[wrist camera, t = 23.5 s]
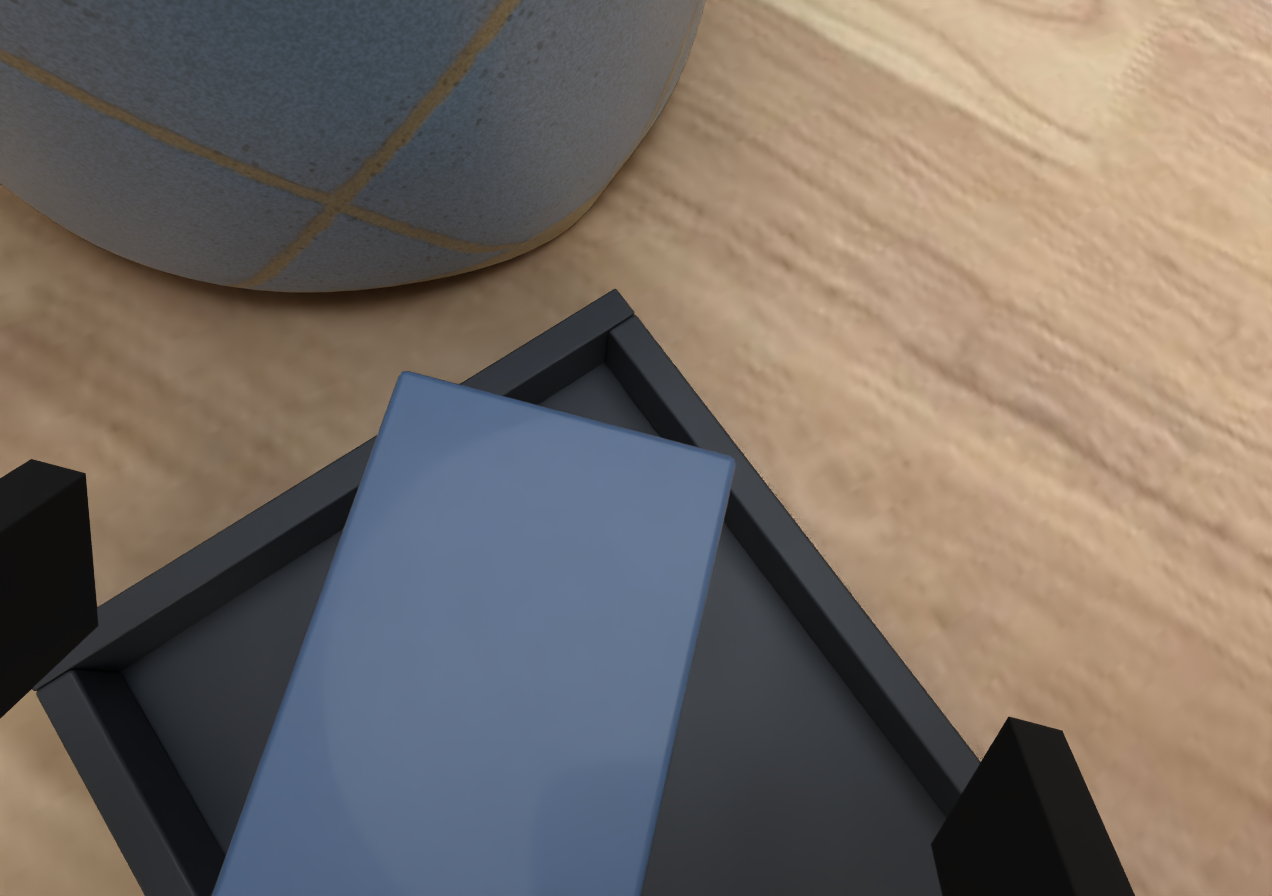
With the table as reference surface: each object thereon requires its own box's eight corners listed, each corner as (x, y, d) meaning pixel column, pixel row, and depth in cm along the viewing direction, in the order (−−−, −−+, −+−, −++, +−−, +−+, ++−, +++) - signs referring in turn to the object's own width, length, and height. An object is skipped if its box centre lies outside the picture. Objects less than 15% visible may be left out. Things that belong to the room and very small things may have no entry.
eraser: (561, 934, 18) (561, 1259, 7) (377, 887, 18) (118, 1147, 7) (650, 568, 20) (745, 422, 10) (488, 525, 20) (410, 335, 10)
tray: (1118, 1002, 19) (1202, 1047, 17) (583, 1556, 16) (586, 1717, 13) (610, 332, 23) (615, 286, 20) (84, 663, 19) (13, 657, 17)
